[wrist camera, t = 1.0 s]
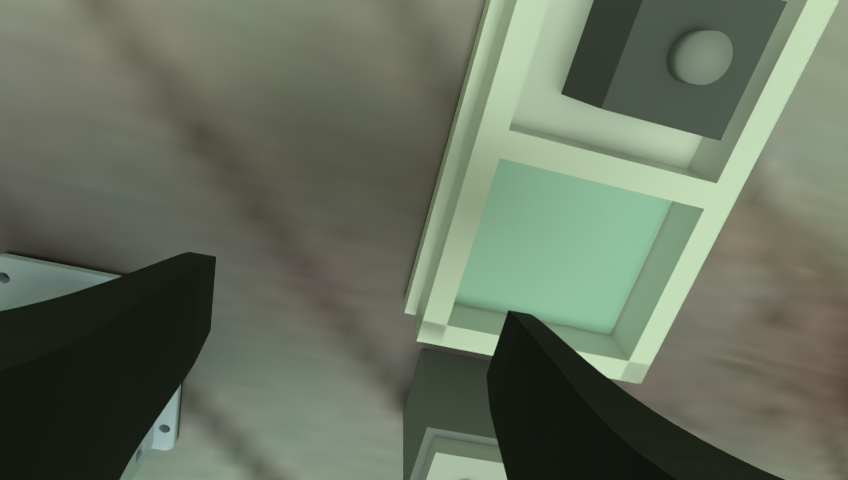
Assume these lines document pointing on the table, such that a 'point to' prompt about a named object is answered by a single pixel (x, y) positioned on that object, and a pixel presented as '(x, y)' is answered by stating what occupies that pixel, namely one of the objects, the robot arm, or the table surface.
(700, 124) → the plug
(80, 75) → the table surface
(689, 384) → the table surface
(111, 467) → the robot arm
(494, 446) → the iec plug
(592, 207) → the pale green compartment tray
